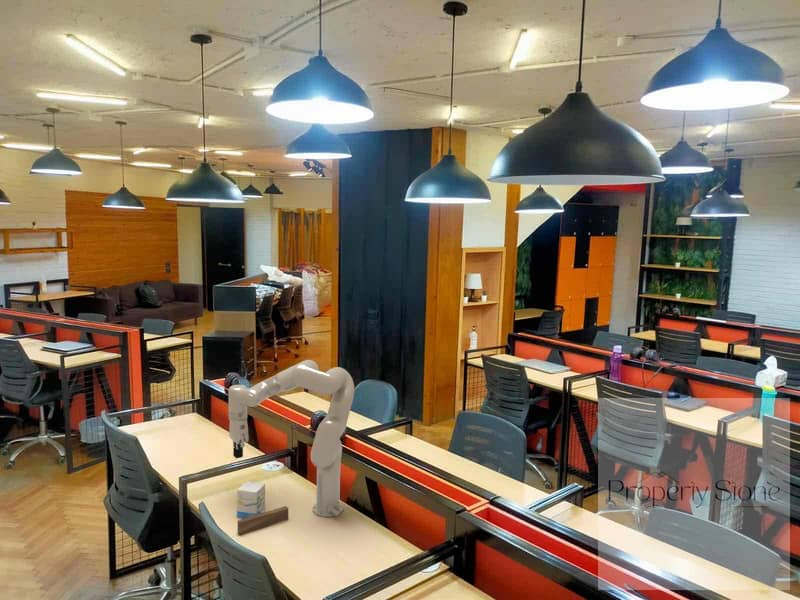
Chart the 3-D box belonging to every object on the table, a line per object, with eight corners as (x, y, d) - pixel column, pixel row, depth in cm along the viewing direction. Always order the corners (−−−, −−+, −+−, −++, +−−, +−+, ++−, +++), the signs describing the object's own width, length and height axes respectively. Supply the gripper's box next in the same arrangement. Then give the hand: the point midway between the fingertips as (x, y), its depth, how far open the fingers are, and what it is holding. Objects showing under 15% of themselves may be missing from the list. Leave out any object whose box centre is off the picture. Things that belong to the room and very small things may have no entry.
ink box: (256, 520, 216) (256, 492, 215) (236, 517, 218) (236, 489, 216) (265, 509, 225) (265, 482, 223) (246, 507, 226) (246, 480, 225)
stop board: (288, 519, 217) (288, 507, 217) (239, 535, 205) (239, 522, 204) (286, 517, 219) (286, 505, 218) (237, 533, 206) (237, 520, 206)
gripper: (253, 418, 224) (253, 461, 226) (239, 408, 236) (239, 449, 238) (236, 421, 219) (236, 465, 222) (222, 411, 232) (222, 452, 234)
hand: (238, 456), depth 230 cm, fingers closed
